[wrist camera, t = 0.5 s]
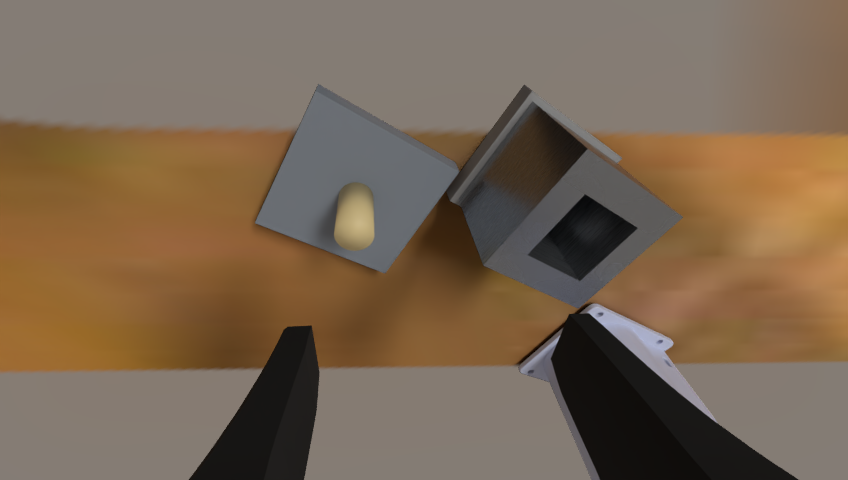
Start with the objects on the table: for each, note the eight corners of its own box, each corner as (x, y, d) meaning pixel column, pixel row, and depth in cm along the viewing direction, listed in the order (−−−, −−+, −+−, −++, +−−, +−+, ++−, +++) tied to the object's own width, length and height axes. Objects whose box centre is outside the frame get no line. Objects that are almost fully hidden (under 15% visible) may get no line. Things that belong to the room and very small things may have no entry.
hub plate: (455, 162, 18) (474, 205, 15) (384, 261, 21) (387, 314, 18) (318, 84, 15) (305, 116, 12) (259, 211, 19) (237, 264, 15)
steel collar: (613, 160, 18) (683, 217, 14) (537, 240, 20) (578, 308, 16) (532, 101, 16) (587, 148, 12) (458, 198, 18) (483, 265, 14)
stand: (611, 149, 19) (646, 177, 16) (531, 235, 22) (551, 270, 19) (524, 84, 16) (550, 106, 14) (446, 190, 19) (457, 223, 17)
